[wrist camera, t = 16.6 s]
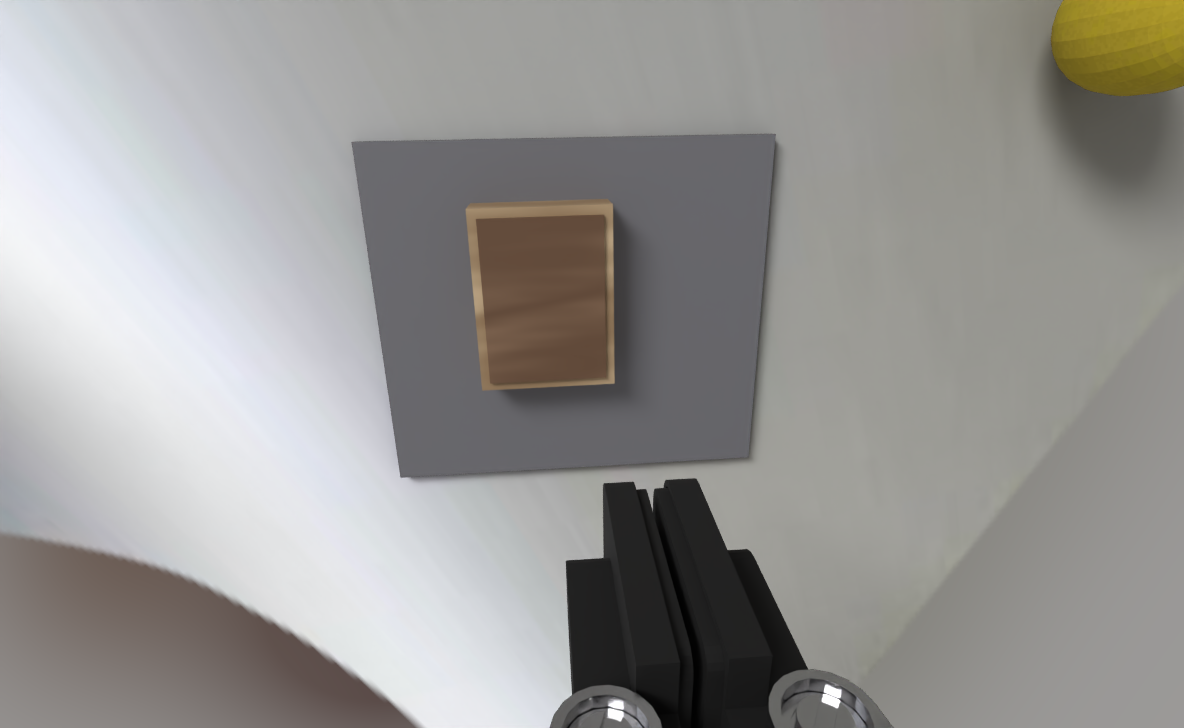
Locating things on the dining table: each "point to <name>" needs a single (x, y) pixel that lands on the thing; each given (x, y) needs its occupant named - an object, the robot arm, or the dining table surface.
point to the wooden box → (543, 292)
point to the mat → (641, 298)
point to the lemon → (1120, 45)
